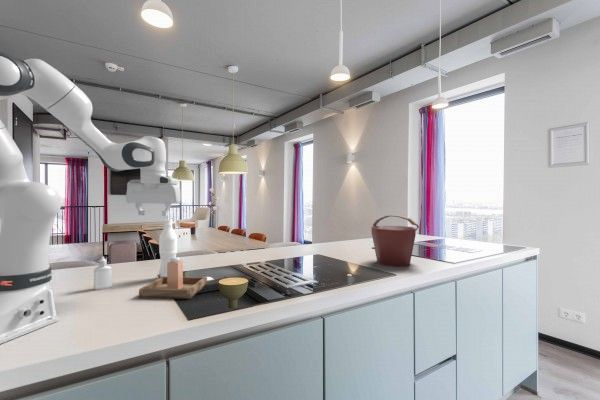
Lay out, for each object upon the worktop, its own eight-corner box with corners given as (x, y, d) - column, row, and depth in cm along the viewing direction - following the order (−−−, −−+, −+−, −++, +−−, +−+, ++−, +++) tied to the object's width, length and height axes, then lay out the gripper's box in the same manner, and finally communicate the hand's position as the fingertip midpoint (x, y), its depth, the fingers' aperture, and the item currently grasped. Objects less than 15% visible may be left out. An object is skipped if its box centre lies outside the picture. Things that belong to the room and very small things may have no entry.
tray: (190, 298, 102) (190, 290, 102) (138, 297, 103) (138, 289, 103) (206, 284, 118) (206, 277, 118) (162, 284, 119) (162, 276, 119)
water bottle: (180, 275, 131) (180, 218, 131) (172, 280, 124) (171, 220, 124) (165, 275, 132) (164, 218, 131) (155, 279, 125) (155, 220, 124)
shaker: (178, 290, 108) (177, 259, 108) (167, 290, 109) (167, 259, 108) (182, 287, 112) (182, 256, 112) (172, 286, 113) (172, 256, 112)
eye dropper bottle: (108, 289, 112) (108, 257, 112) (91, 290, 111) (91, 258, 111) (113, 286, 116) (113, 255, 116) (97, 286, 115) (97, 255, 115)
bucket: (427, 265, 151) (428, 216, 151) (397, 270, 140) (397, 217, 140) (390, 256, 172) (390, 213, 172) (361, 261, 161) (361, 214, 161)
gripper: (122, 178, 113) (121, 215, 113) (174, 179, 111) (174, 216, 111) (132, 180, 119) (132, 214, 119) (182, 180, 118) (182, 215, 118)
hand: (153, 215), depth 115 cm, fingers open, 8 cm apart
